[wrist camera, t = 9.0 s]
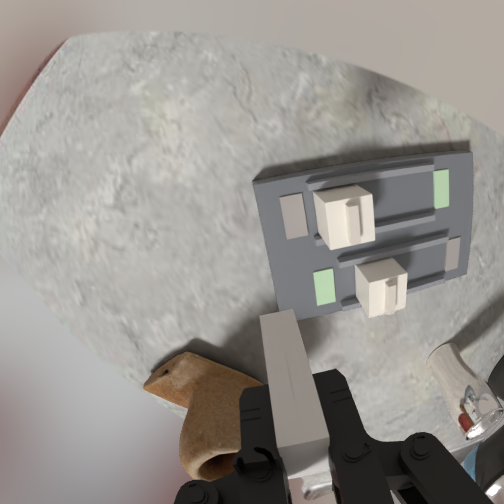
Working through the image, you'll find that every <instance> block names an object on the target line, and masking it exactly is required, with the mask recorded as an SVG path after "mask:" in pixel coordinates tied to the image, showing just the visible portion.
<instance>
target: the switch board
mask: <svg viewBox="0 0 504 504" xmlns="http://www.w3.org/2000/svg"><path fill="white" fill-rule="evenodd" d="M252 183H253V188H254V192H255V197H256V202H257V206H258V211H259V216H260V221H261V225H262V230H263V235H264V240H265V245H266V249H267V254H268V259H269V264H270V269H271V274H272V279H273V284H274V289H275V294H276V299H277V304H278V309H279V312H280V311H285V310H290V309H293V310H294V314H295V317H296V320H297V321H299V320H303V319H308V318H312V317H316V316H321V315H325V314H329V313H333V312H337V311H341V310H342V311H347V310H351V309H355V308H359V307H362V305H361V304H360V302H359V300H358V299H357V297H356V282H355V265H357V264H361V263H365V262H369V261H374V260H378V259H382V258H386V257H390V256H391V257H392V258H393V259H394V260H395V261H396V262H397V263H398V264H399V265H400V266H401V267H402V268H403V269H404V270H405V271H406V272H407V291H406V294H409V293H413V292H416V291H419V290H423V289H426V288H429V287H432V286H435V285H439V284H442V283H445V281H447V280H450V279H453V278H456V277H459V276H462V275H465V274H467V268H468V260H469V252H470V242H471V230H472V215H473V152H469V151H465V150H453V151H442V152H432V153H422V154H414V155H405V156H397V157H389V158H382V159H375V160H368V161H361V162H354V163H348V164H341V165H335V166H329V167H323V168H317V169H312V170H306V171H301V172H295V173H290V174H285V175H280V176H274V177H269V178H265V179H260V180H255V181H252ZM349 184H356V185H358V186H359V187H361V188H363V189H364V190H366V191H368V192H369V193H371V194H372V197H373V210H374V226H375V241H370V242H366V243H361V244H357V245H353V246H348V247H343V248H339V249H334V250H330V249H329V247H328V246H327V244H326V243H325V241H324V240H323V238H322V237H321V236H320V234H319V232H318V225H317V217H316V210H315V203H314V197H313V191H316V190H322V189H327V188H332V187H338V186H344V185H349Z"/></svg>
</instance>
